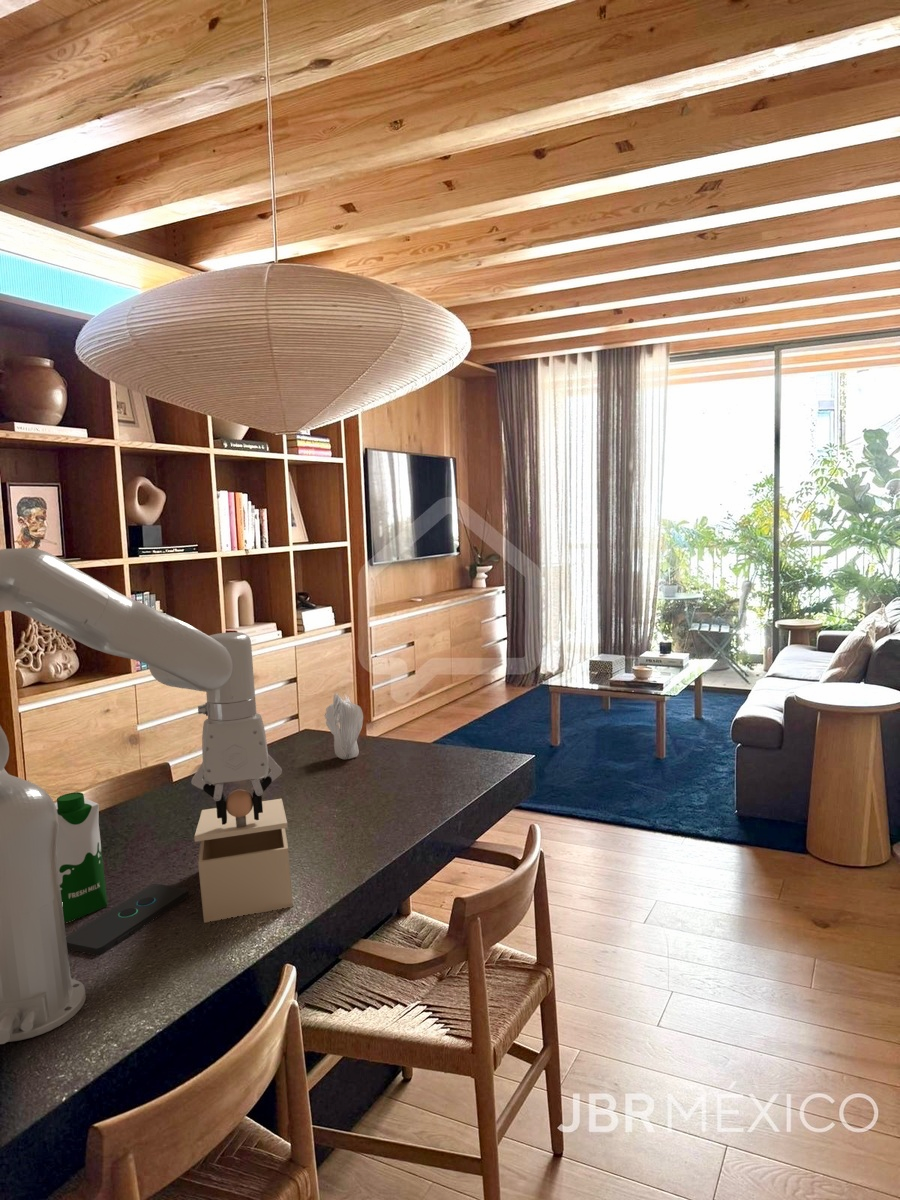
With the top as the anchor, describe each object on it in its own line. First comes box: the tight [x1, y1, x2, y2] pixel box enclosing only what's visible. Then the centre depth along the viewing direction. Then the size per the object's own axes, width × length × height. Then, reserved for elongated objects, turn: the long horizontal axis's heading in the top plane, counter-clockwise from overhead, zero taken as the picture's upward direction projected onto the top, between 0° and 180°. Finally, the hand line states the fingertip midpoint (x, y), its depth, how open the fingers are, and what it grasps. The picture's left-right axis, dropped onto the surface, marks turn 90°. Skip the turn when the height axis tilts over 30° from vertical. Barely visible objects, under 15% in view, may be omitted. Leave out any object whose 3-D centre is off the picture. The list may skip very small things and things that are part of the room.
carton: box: [197, 828, 294, 923], centre depth 140 cm, size 22×14×10 cm, turn 15°
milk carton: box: [54, 791, 108, 923], centre depth 135 cm, size 9×9×20 cm
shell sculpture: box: [324, 692, 364, 760], centre depth 212 cm, size 8×8×18 cm
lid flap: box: [193, 789, 289, 843], centre depth 140 cm, size 22×14×7 cm, turn 14°
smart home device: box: [66, 883, 190, 956], centre depth 131 cm, size 8×2×20 cm
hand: (240, 818), depth 132 cm, fingers closed on lid flap, 4 cm apart
